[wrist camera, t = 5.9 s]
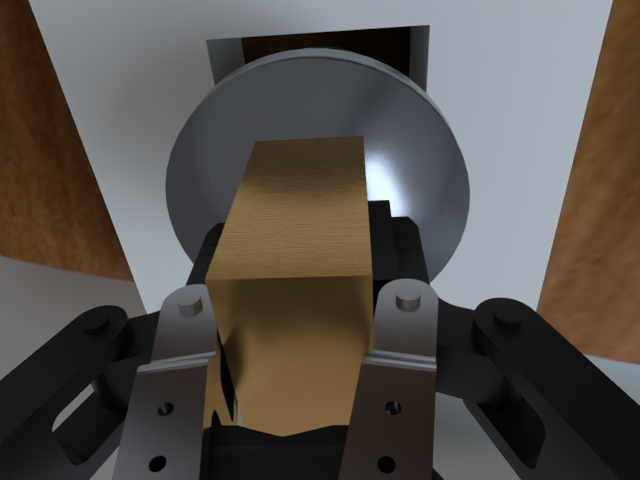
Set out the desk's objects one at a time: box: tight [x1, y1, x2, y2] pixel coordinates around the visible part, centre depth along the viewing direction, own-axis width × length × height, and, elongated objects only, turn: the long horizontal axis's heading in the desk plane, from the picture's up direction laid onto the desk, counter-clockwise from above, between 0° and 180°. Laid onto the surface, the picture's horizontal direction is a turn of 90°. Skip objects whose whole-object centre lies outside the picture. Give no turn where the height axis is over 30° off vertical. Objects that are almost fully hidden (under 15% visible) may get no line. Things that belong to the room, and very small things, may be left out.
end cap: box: [165, 46, 470, 436], centre depth 15 cm, size 9×9×12 cm
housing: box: [29, 0, 613, 314], centre depth 22 cm, size 24×20×6 cm
